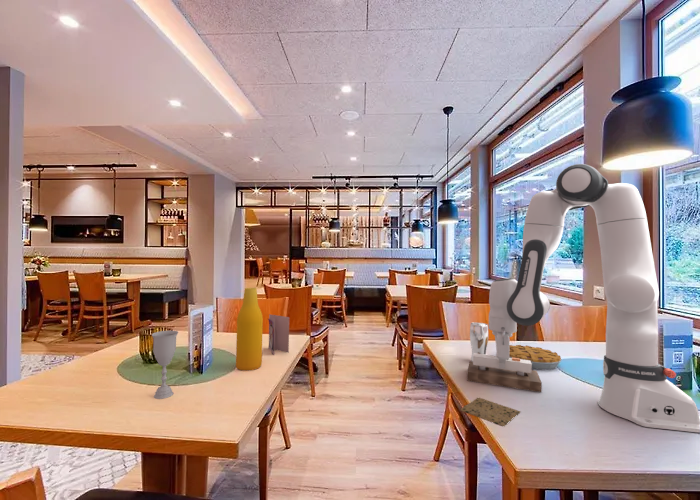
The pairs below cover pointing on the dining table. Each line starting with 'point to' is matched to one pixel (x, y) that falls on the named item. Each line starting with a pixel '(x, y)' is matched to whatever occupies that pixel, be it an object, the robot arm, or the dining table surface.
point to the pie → (536, 356)
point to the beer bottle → (249, 333)
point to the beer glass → (478, 338)
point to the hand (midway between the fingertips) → (501, 365)
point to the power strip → (510, 364)
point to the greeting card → (278, 333)
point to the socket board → (504, 378)
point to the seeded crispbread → (490, 411)
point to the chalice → (164, 358)
